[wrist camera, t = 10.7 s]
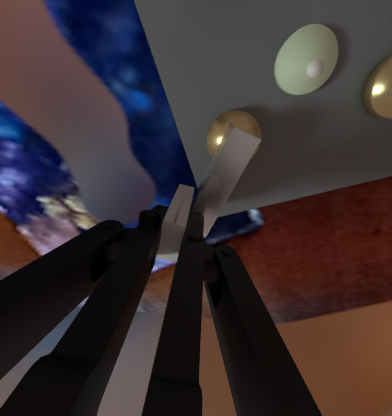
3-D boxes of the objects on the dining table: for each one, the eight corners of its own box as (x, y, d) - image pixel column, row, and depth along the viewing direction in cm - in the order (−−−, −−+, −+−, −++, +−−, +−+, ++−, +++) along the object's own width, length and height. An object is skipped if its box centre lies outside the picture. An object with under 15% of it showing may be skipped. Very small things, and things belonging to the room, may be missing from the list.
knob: (220, 100, 16) (223, 94, 11) (268, 124, 16) (292, 129, 11) (180, 194, 20) (168, 222, 15) (219, 211, 20) (220, 244, 15)
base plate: (110, -87, 13) (81, -143, 10) (505, -355, 9) (649, -586, 6) (209, 211, 23) (208, 225, 20) (420, 158, 18) (458, 167, 15)
